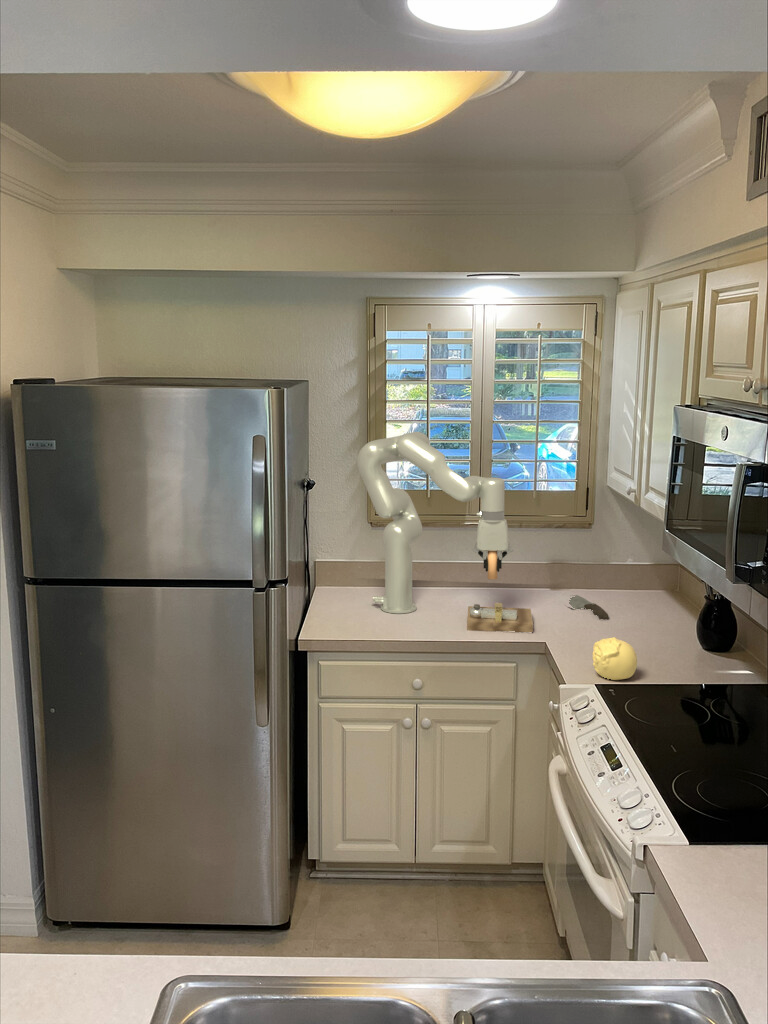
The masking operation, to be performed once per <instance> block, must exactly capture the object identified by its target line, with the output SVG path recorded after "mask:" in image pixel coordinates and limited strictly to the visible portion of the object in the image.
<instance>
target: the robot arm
mask: <svg viewBox="0 0 768 1024" xmlns="http://www.w3.org/2000/svg"><path fill="white" fill-rule="evenodd" d="M401 460H406V461H408V462H409V463H411V464H412V465H413V466H415V467H417V468H418V469H420V470H421V471H422V472H424V473H425V474H427V475H428V476H429V477H430V479H431V480H432V481H433V482H434V484H435V485H436V486H437V487H438V488H439V489H440V490H441V491H442V492H444V493H446V494H447V495H448V496H450V497H452V498H453V499H455V500H457V501H459V502H463V503H466V502H470V501H473V500H475V499H479V498H480V500H481V501H480V502H481V503H480V506H481V507H480V511H477V512H476V517H480V519H479V520H478V523H477V529H476V530H477V533H476V542H475V544H474V545H473V547H472V550H471V551H472V552H474V553H476V554H477V555H479V556H480V557H481V558H482V560H483V569H485V572H487V573H488V551H497V573H499V572H500V570H501V569H502V565H503V564H502V560H503V559H504V558H505V557H506V556H508V554H511V553H512V552H513V551H514V548H513V547H512V545H511V543H510V542H509V526H508V522H507V519H505V490H506V489H505V485H506V484H505V480H504V479H503V478H501V477H484V476H483V477H482V476H479V475H469V476H466V477H463V476H461V475H459V474H458V473H456V472H455V471H454V470H453V469H452V468H450V467H449V466H448V463H447V462H446V457H445V454H444V453H443V452H441V451H440V450H439V449H436V448H435V447H434V446H432V445H431V443H430V440H429V438H428V436H427V435H426V434H424V433H423V432H421V431H412V432H407V433H403V434H402V435H397V436H392V437H385V438H379V439H374V440H371V441H368V442H367V443H365V445H364V446H362V448H360V450H359V453H358V454H357V460H356V466H357V469H358V474H359V475H360V477H361V479H362V482H363V483H364V485H365V488H366V491H367V493H368V495H369V498H370V500H371V503H372V505H373V508H374V510H375V513H376V514H377V515H378V516H379V517H380V518H382V519H390V518H392V519H393V521H391V522H389V523H388V524H386V526H385V528H384V529H383V532H382V543H383V547H384V569H385V571H384V595H381V596H378V595H373V596H372V602H374V603H375V604H380V610H382V611H383V612H384V613H390V614H408V613H412V612H415V611H416V610H417V604H415V603H414V602H413V552H412V548H411V545H412V544H413V543H414V542H416V541H418V540H419V539H420V538H421V537H422V534H423V524H422V521H421V519H420V517H419V516H420V515H419V514H418V511H417V509H416V507H415V505H414V503H413V501H412V498H411V497H410V495H409V493H408V492H407V491H405V490H404V489H403V488H398V487H393V484H392V483H391V480H390V478H389V475H388V474H387V473H386V471H385V470H384V469H383V468H382V465H383V464H387V463H392V462H397V461H401Z"/></svg>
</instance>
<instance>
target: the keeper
mask: <svg viewBox="0 0 768 1024" xmlns="http://www.w3.org/2000/svg"><path fill="white" fill-rule="evenodd" d="M494 607H495V622H501V619H502V608H503V603H502V602H494Z"/></svg>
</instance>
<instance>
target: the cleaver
mask: <svg viewBox="0 0 768 1024" xmlns="http://www.w3.org/2000/svg"><path fill="white" fill-rule="evenodd" d="M573 596H575V597H572V598H570V599H571V600H569V601H570V602H569V604H570V605H571V606H572V607H573V608H575V609H580V610H582V609H581V608H586V609H585V610H588V609H591V610H590V611H592V610H593V611H592V613H594V614H593V615H595V616H596V615H597V616H596V617H598V620H600V619H607V620H609V618H610V617H609V614H608V612H607V611H605V609H603V608H602V607H601V606H599V604H596V603H595V602H593V603H592V602H591V601H589V600H588V599H586V598H584V597H582V596H581V595H577V594H576V595H573Z"/></svg>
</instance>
